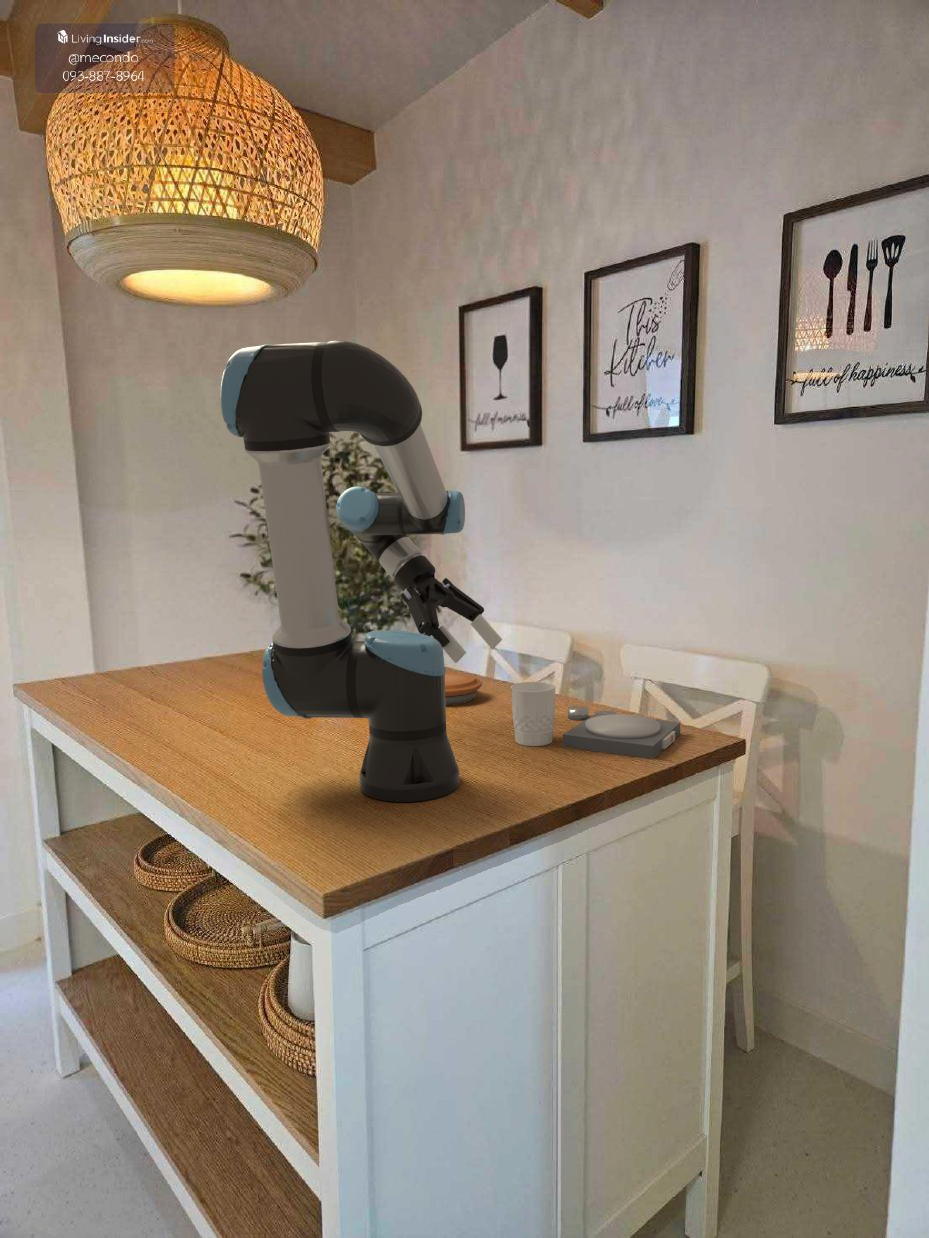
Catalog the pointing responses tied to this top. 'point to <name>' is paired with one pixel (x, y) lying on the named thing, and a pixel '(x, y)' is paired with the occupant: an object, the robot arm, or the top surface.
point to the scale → (622, 735)
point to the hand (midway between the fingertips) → (479, 651)
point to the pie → (460, 688)
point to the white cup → (533, 712)
